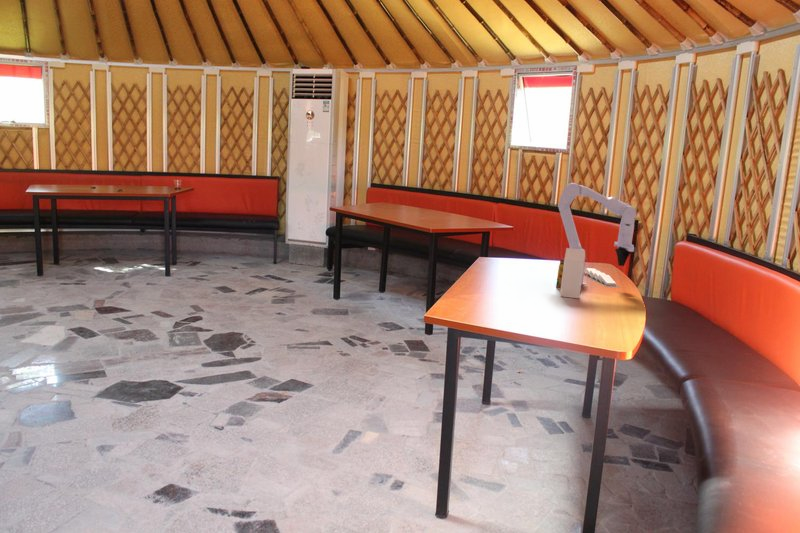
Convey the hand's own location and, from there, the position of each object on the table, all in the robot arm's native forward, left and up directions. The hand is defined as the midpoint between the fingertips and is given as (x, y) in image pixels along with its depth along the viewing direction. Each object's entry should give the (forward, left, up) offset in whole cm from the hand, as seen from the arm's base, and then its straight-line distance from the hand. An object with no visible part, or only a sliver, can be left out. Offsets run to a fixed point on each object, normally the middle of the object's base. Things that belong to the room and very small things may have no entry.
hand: (621, 265), depth 274 cm
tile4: (+6, +18, -9) cm, 21 cm away
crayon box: (-25, +6, -11) cm, 28 cm away
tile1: (+1, +5, -9) cm, 10 cm away
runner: (+4, +13, -10) cm, 17 cm away
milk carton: (-34, -6, -11) cm, 36 cm away
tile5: (+8, +23, -9) cm, 26 cm away
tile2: (+2, +9, -9) cm, 13 cm away
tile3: (+4, +14, -9) cm, 17 cm away
